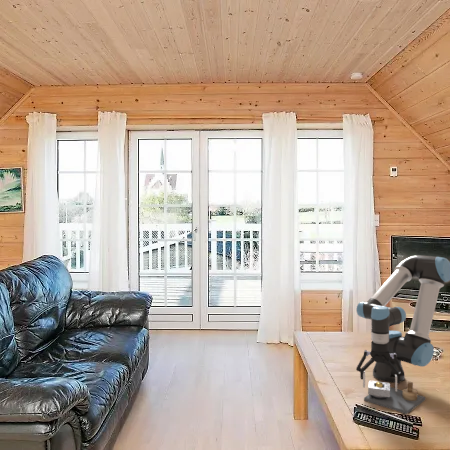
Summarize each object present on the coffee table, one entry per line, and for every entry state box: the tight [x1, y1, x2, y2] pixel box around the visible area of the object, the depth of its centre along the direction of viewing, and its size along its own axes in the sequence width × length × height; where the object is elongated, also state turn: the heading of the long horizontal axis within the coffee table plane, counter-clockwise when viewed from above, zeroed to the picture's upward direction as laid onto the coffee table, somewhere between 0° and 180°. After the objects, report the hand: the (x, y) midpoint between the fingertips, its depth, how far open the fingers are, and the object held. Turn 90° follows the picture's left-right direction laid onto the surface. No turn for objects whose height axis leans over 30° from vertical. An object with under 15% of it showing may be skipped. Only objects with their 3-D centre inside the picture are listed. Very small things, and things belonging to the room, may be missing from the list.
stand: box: [402, 381, 418, 401], centre depth 201 cm, size 6×6×7 cm
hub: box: [371, 381, 387, 400], centre depth 203 cm, size 7×7×6 cm
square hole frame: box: [367, 380, 391, 397], centre depth 203 cm, size 9×9×3 cm
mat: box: [363, 386, 426, 415], centre depth 202 cm, size 20×19×1 cm
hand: (379, 388), depth 203 cm, fingers open, 13 cm apart
